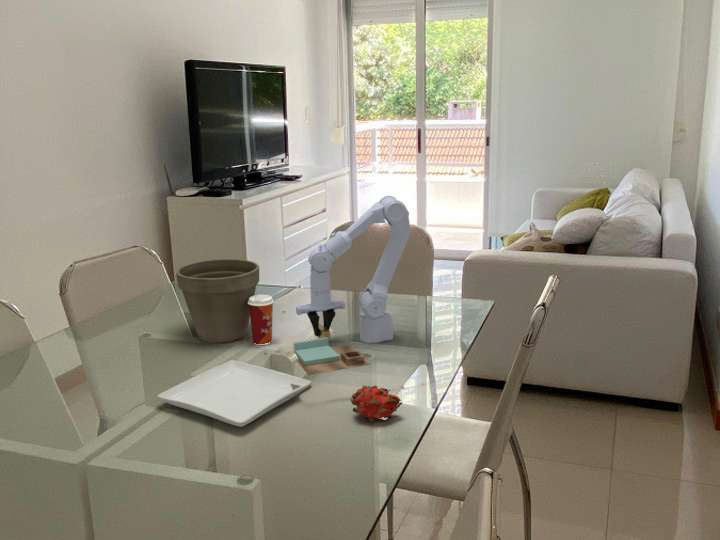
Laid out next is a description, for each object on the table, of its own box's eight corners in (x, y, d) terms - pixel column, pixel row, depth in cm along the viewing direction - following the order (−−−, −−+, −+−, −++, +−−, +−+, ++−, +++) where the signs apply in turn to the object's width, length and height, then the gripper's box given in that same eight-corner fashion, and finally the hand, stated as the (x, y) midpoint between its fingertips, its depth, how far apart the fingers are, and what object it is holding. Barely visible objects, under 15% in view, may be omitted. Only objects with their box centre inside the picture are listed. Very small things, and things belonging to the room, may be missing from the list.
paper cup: (270, 347, 206) (268, 302, 202) (245, 345, 207) (243, 300, 204) (278, 338, 213) (277, 294, 210) (254, 336, 215) (252, 293, 211)
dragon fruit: (347, 421, 164) (397, 428, 164) (348, 415, 156) (401, 423, 156) (352, 385, 167) (401, 393, 167) (353, 378, 159) (405, 386, 159)
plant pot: (178, 326, 224) (173, 260, 219) (254, 318, 232) (251, 254, 226) (184, 354, 201) (178, 281, 196) (269, 344, 209) (266, 274, 203)
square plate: (242, 437, 154) (241, 421, 153) (155, 408, 168) (154, 394, 167) (313, 393, 177) (313, 378, 176) (232, 370, 191) (231, 357, 190)
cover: (327, 347, 201) (327, 337, 200) (339, 359, 192) (339, 349, 191) (293, 352, 198) (293, 342, 197) (304, 365, 189) (304, 354, 188)
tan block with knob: (330, 347, 203) (330, 330, 202) (323, 348, 202) (323, 332, 200) (320, 338, 209) (320, 323, 207) (313, 340, 208) (313, 324, 206)
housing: (349, 349, 204) (349, 338, 203) (371, 369, 190) (371, 357, 189) (290, 358, 198) (290, 347, 197) (308, 380, 183) (308, 367, 182)
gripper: (339, 283, 208) (339, 327, 211) (292, 289, 202) (293, 333, 206) (347, 290, 201) (348, 334, 205) (299, 296, 196) (300, 341, 200)
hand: (321, 334), depth 205 cm, fingers closed on tan block with knob, 2 cm apart
